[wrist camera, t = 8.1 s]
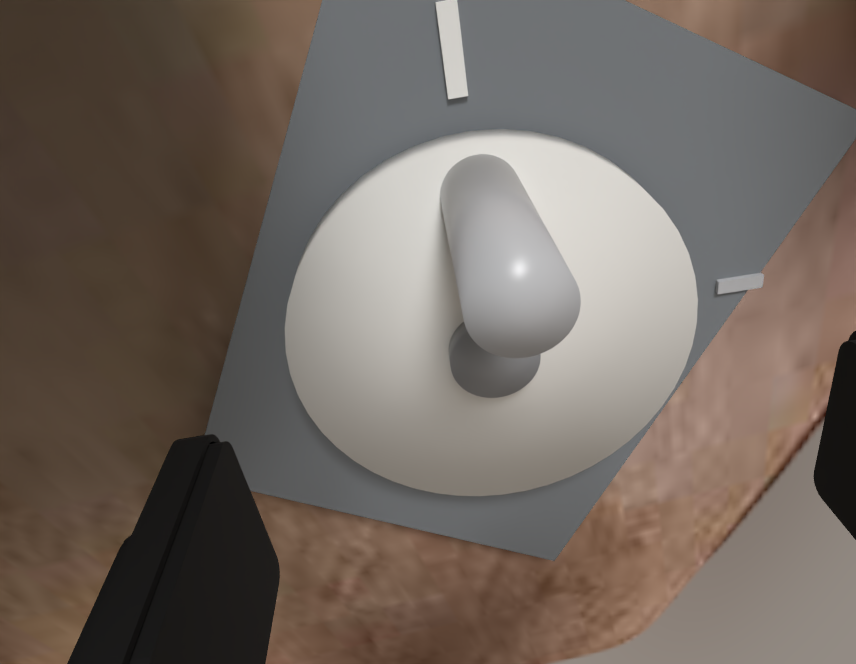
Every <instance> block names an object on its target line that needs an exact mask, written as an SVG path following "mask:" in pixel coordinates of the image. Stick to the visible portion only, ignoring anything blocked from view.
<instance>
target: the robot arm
mask: <svg viewBox="0 0 856 664" xmlns="http://www.w3.org/2000/svg"><path fill="white" fill-rule="evenodd" d="M814 483H815V486H816V489H817V491H818V493H819V495H820V496H821V498H822V499H823V501H824V502H825V503H826V504H827V506H828V507H829V508H830V509H831V510H832V512H833V513H834V514H835V515H836V516H837V518H838V519H839V520H840V521H841V522H842V524H843V525H844V526H845V527H846V529H847V530H848V531H849V532H850V533H851V535H852V536H853V537H854V538H855V540H856V331H854V332H853V333H852V334H851V336H850V337H849V340H848V341H846V342H844V343H843V344H842V345H841V346H840V349H839V352H838V357H837V362H836V367H835V372H834V377H833V382H832V387H831V391H830V396H829V401H828V406H827V411H826V416H825V421H824V426H823V431H822V436H821V440H820V445H819V450H818V456H817V460H816V465H815V470H814ZM279 578H280V571H279V563H278V559H277V556H276V553H275V551H274V548H273V546H272V543H271V541H270V538H269V536H268V533H267V531H266V529H265V526H264V524H263V521H262V519H261V516H260V514H259V511H258V509H257V506H256V504H255V501H254V499H253V496H252V494H251V491H250V489H249V486H248V484H247V481H246V479H245V476H244V474H243V471H242V469H241V467H240V464H239V462H238V459H237V457H236V454H235V452H234V449H233V447H232V445H231V444H230V443H229V442H227V441H225V442H220V440H219V439H218V437H217V436H216V435H213V434H209V435H203V436H197V437H190V438H184V439H178V440H176V441H174V443H173V444H172V446H171V448H170V450H169V452H168V454H167V457H166V459H165V461H164V463H163V466H162V468H161V470H160V472H159V475H158V477H157V479H156V481H155V484H154V486H153V488H152V490H151V493H150V495H149V497H148V499H147V502H146V504H145V506H144V508H143V511H142V513H141V515H140V517H139V520H138V522H137V524H136V526H135V529H134V531H133V533H132V535H131V536H129V537H128V538H127V539H126V540H125V541H124V543H123V544H122V546H121V547H120V549H119V551H118V553H117V556H116V558H115V560H114V562H113V564H112V567H111V569H110V571H109V573H108V575H107V578H106V580H105V582H104V584H103V586H102V589H101V591H100V593H99V595H98V597H97V600H96V602H95V604H94V606H93V608H92V611H91V613H90V615H89V617H88V619H87V622H86V624H85V626H84V628H83V630H82V633H81V635H80V637H79V639H78V641H77V644H76V646H75V648H74V650H73V652H72V655H71V657H70V659H69V661H68V663H67V664H265V662H266V656H267V650H268V644H269V639H270V633H271V627H272V621H273V615H274V609H275V604H276V598H277V592H278V586H279Z"/></svg>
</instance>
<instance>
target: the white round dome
mask: <svg viewBox="0 0 856 664" xmlns="http://www.w3.org/2000/svg"><path fill="white" fill-rule="evenodd" d="M697 309H698V296H697V287H696V278H695V273H694V270H693V266H692V263H691V259H690V255H689V252H688V250H687V248H686V246H685V244H684V242H683V240H682V237H681V235H680V233H679V231H678V229H677V228H676V227H675V225H674V224H673V222H672V221H671V219H670V218H669V216H668V215H667V213H666V212H665V211H664V209H663V208H662V207H661V206H660V205H659V204H658V203H657V202H656V201H655V200H654V199H653V198H652V197H651V196H650V195H649V194H648V193H647V192H646V191H645V190H644V189H643V188H642V187H641V186H640V185H639V184H638V183H637V182H636V181H635V180H634V179H633V178H632V177H631V176H630V175H629V174H627V173H626V172H625V171H623V170H622V169H621V168H619V167H618V166H617V165H615V164H614V163H613V162H611V161H610V160H609V159H607V158H605V157H603V156H601V155H600V154H598V153H596V152H594V151H592V150H590V149H588V148H587V147H585V146H582V145H579V144H576V143H574V142H571V141H568V140H566V139H563V138H560V137H556V136H552V135H547V134H542V133H537V132H533V131H523V130H509V129H492V130H477V131H468V132H463V133H458V134H453V135H448V136H443V137H439V138H436V139H433V140H431V141H428V142H425V143H422V144H419V145H416V146H413V147H411V148H409V149H407V150H405V151H403V152H401V153H399V154H397V155H395V156H393V157H391V158H389V159H387V160H385V161H384V162H382V163H381V164H379V165H378V166H376V167H375V168H373V169H372V170H370V171H369V172H367V173H366V174H364V175H363V176H362V177H361V178H359V179H358V180H357V181H356V182H355V183H354V184H353V185H352V186H350V187H349V188H348V189H347V190H346V191H345V192H344V193H343V194H341V196H340V197H339V198H338V199H337V200H336V202H335V203H334V204H333V205H332V206H331V207H330V209H329V210H328V211H327V212H326V213H325V214H324V216H323V217H322V219H321V221H320V222H319V224H318V225H317V227H316V229H315V230H314V232H313V233H312V235H311V236H310V238H309V241H308V243H307V245H306V247H305V250H304V252H303V254H302V256H301V259H300V261H299V265H298V268H297V272H296V275H295V279H294V282H293V286H292V289H291V293H290V297H289V300H288V304H287V312H286V321H285V348H286V356H287V361H288V366H289V371H290V375H291V378H292V381H293V383H294V386H295V389H296V391H297V394H298V396H299V398H300V400H301V402H302V404H303V405H304V407H305V409H306V411H307V413H308V414H309V416H310V417H311V419H312V420H313V421H314V423H315V424H316V425H317V427H318V428H319V429H320V431H321V432H322V433H323V434H324V435H325V436H326V437H327V438H328V439H329V440H330V441H331V442H332V443H333V444H334V445H335V446H336V447H337V448H338V449H339V450H341V451H342V452H343V453H345V454H346V455H347V456H348V457H350V458H351V459H352V460H353V461H355V462H357V463H358V464H360V465H362V466H363V467H365V468H367V469H368V470H370V471H372V472H373V473H376V474H378V475H380V476H382V477H384V478H387V479H389V480H391V481H393V482H396V483H399V484H402V485H405V486H408V487H411V488H415V489H419V490H424V491H428V492H433V493H439V494H447V495H456V496H491V495H504V494H510V493H516V492H522V491H527V490H531V489H534V488H538V487H542V486H546V485H549V484H552V483H555V482H557V481H560V480H563V479H565V478H568V477H571V476H573V475H575V474H577V473H579V472H581V471H583V470H585V469H587V468H589V467H591V466H593V465H595V464H596V463H598V462H600V461H601V460H603V459H605V458H606V457H608V456H609V455H611V454H612V453H614V452H615V451H616V450H618V449H619V448H620V447H622V446H623V445H624V444H626V443H627V442H628V441H630V440H631V439H632V438H633V437H634V436H635V435H636V434H637V433H638V432H639V431H640V430H641V429H642V428H644V427H645V426H646V425H647V424H648V422H649V421H650V420H651V419H652V418H653V417H654V415H655V414H656V413H657V412H658V411H659V410H660V408H661V407H662V406H663V404H664V403H665V401H666V400H667V398H668V397H669V395H670V394H671V392H672V391H673V389H674V388H675V386H676V384H677V382H678V380H679V378H680V376H681V374H682V372H683V370H684V368H685V365H686V363H687V360H688V357H689V354H690V351H691V348H692V345H693V340H694V335H695V330H696V325H697Z"/></svg>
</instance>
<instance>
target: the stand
mask: <svg viewBox="0 0 856 664" xmlns="http://www.w3.org/2000/svg"><path fill="white" fill-rule="evenodd" d="M492 129H509V130H523V131H533V132H537V133H542V134H547V135H552V136H556V137H560V138H563V139H566V140H568V141H571V142H574V143H576V144H579V145H582V146H585V147H587V148H588V149H590V150H592V151H594V152H596V153H598V154H600V155H601V156H603V157H605V158H607V159H609V160H610V161H611V162H613V163H614V164H615V165H617V166H618V167H619V168H621V169H622V170H623V171H625V172H626V173H627V174H629V175H630V176H631V177H632V178H633V179H634V180H635V181H636V182H637V183H638V184H639V185H640V186H641V187H642V188H643V189H644V190H645V191H646V192H647V193H648V194H649V195H650V196H651V197H652V198H653V199H654V200H655V201H656V202H657V203H658V204H659V205H660V206H661V207H662V208H663V209H664V211H665V212H666V213H667V215H668V216H669V218H670V219H671V221H672V222H673V224H674V225H675V227H676V228H677V229H678V231H679V233H680V235H681V237H682V240H683V242H684V244H685V246H686V248H687V250H688V252H689V255H690V259H691V263H692V266H693V270H694V273H695V278H696V287H697V296H698V309H697V325H696V330H695V335H694V340H693V345H692V348H691V351H690V354H689V357H688V360H687V363H686V365H685V368H684V370H683V372H682V374H681V376H680V378H679V380H678V382H677V384H676V386H675V388H674V389H673V391H672V392H671V394H670V395H669V397H668V398H667V400H666V401H665V403H664V404H663V406H662V407H661V408H660V410H659V411H658V412H657V413H656V414H655V415H654V417H653V418H652V419H651V420H650V421H649V422H648V424H647V425H646V426H645V427H644V428H642V429H641V430H640V431H639V432H638V433H637V434H636V435H635V436H634V437H633V438H632V439H631V440H630V441H628V442H627V443H626V444H624V445H623V446H622V447H620V448H619V449H618V450H616V451H615V452H614V453H612V454H611V455H609V456H608V457H606V458H605V459H603V460H601V461H600V462H598V463H596V464H595V465H593V466H591V467H589V468H587V469H585V470H583V471H581V472H579V473H577V474H575V475H573V476H571V477H568V478H565V479H563V480H560V481H557V482H555V483H552V484H549V485H546V486H542V487H538V488H534V489H531V490H527V491H522V492H516V493H510V494H504V495H491V496H456V495H447V494H439V493H433V492H428V491H424V490H419V489H415V488H411V487H408V486H405V485H402V484H399V483H396V482H393V481H391V480H389V479H387V478H384V477H382V476H380V475H378V474H376V473H373V472H372V471H370V470H368V469H367V468H365V467H363V466H362V465H360V464H358V463H357V462H355V461H353V460H352V459H351V458H350V457H348V456H347V455H346V454H345V453H343V452H342V451H341V450H339V449H338V448H337V447H336V446H335V445H334V444H333V443H332V442H331V441H330V440H329V439H328V438H327V437H326V436H325V435H324V434H323V433H322V432H321V431H320V429H319V428H318V427H317V425H316V424H315V423H314V421H313V420H312V419H311V417H310V416H309V414H308V413H307V411H306V409H305V407H304V405H303V404H302V402H301V400H300V398H299V396H298V394H297V391H296V389H295V386H294V383H293V381H292V378H291V375H290V371H289V366H288V361H287V356H286V348H285V321H286V312H287V304H288V300H289V297H290V293H291V289H292V286H293V282H294V279H295V275H296V272H297V268H298V265H299V261H300V259H301V256H302V254H303V252H304V250H305V247H306V245H307V243H308V241H309V238H310V236H311V235H312V233H313V232H314V230H315V229H316V227H317V225H318V224H319V222H320V221H321V219H322V217H323V216H324V214H325V213H326V212H327V211H328V210H329V209H330V207H331V206H332V205H333V204H334V203H335V202H336V200H337V199H338V198H339V197H340V196H341V194H343V193H344V192H345V191H346V190H347V189H348V188H349V187H350V186H352V185H353V184H354V183H355V182H356V181H357V180H358V179H359V178H361V177H362V176H363V175H364V174H366V173H367V172H369V171H370V170H372V169H373V168H375V167H376V166H378V165H379V164H381V163H382V162H384V161H385V160H387V159H389V158H391V157H393V156H395V155H397V154H399V153H401V152H403V151H405V150H407V149H409V148H411V147H413V146H416V145H419V144H422V143H425V142H428V141H431V140H433V139H436V138H439V137H443V136H448V135H453V134H458V133H463V132H468V131H477V130H492ZM855 139H856V109H854V108H852V107H850V106H848V105H846V104H844V103H842V102H840V101H837V100H835V99H833V98H831V97H829V96H827V95H825V94H823V93H820V92H818V91H816V90H814V89H812V88H810V87H808V86H806V85H803V84H801V83H799V82H797V81H795V80H793V79H791V78H789V77H786V76H784V75H782V74H780V73H778V72H776V71H774V70H772V69H769V68H767V67H765V66H763V65H761V64H759V63H757V62H755V61H752V60H750V59H748V58H746V57H744V56H742V55H740V54H738V53H735V52H733V51H731V50H729V49H727V48H725V47H723V46H721V45H718V44H716V43H714V42H712V41H710V40H708V39H706V38H704V37H701V36H699V35H697V34H695V33H693V32H691V31H689V30H687V29H684V28H682V27H680V26H678V25H676V24H674V23H672V22H670V21H667V20H665V19H663V18H661V17H659V16H657V15H655V14H653V13H650V12H648V11H646V10H644V9H642V8H640V7H638V6H636V5H633V4H631V3H629V2H627V1H625V0H322V4H321V8H320V11H319V15H318V19H317V22H316V26H315V30H314V33H313V37H312V41H311V45H310V48H309V52H308V56H307V59H306V63H305V67H304V70H303V74H302V78H301V81H300V85H299V89H298V93H297V96H296V100H295V104H294V107H293V111H292V115H291V118H290V122H289V126H288V130H287V133H286V137H285V141H284V144H283V148H282V152H281V155H280V159H279V163H278V166H277V170H276V174H275V178H274V181H273V185H272V189H271V192H270V196H269V200H268V203H267V207H266V211H265V214H264V218H263V222H262V226H261V229H260V233H259V237H258V240H257V244H256V248H255V251H254V255H253V259H252V263H251V266H250V270H249V274H248V277H247V281H246V285H245V288H244V292H243V296H242V299H241V303H240V307H239V311H238V314H237V318H236V322H235V325H234V329H233V333H232V336H231V340H230V344H229V347H228V351H227V355H226V359H225V362H224V366H223V370H222V373H221V377H220V381H219V384H218V388H217V392H216V396H215V399H214V403H213V407H212V410H211V414H210V418H209V421H208V425H207V429H206V432H205V435H209V434H213V435H216V436H217V437H218V439H219V440H220V442H225V441H227V442H229V443H230V444H231V445H232V447H233V449H234V452H235V454H236V457H237V459H238V462H239V464H240V467H241V469H242V471H243V474H244V476H245V479H246V481H247V484H248V486H249V489H250V491H253V492H257V493H262V494H266V495H270V496H275V497H279V498H283V499H288V500H292V501H296V502H301V503H305V504H310V505H314V506H318V507H323V508H327V509H331V510H336V511H340V512H344V513H349V514H353V515H357V516H362V517H366V518H370V519H375V520H379V521H383V522H388V523H392V524H396V525H401V526H405V527H409V528H414V529H418V530H422V531H427V532H431V533H435V534H440V535H444V536H448V537H453V538H457V539H461V540H466V541H470V542H475V543H479V544H483V545H488V546H492V547H496V548H501V549H505V550H509V551H514V552H518V553H522V554H527V555H531V556H535V557H540V558H544V559H548V560H553V561H555V559H556V558H557V557H558V555H559V554H560V552H561V551H562V550H563V548H564V547H565V545H566V544H567V543H568V541H569V540H570V538H571V537H572V536H573V534H574V533H575V531H576V530H577V529H578V527H579V526H580V524H581V523H582V522H583V520H584V519H585V517H586V516H587V515H588V513H589V512H590V510H591V509H592V508H593V506H594V505H595V503H596V502H597V501H598V499H599V498H600V496H601V495H602V494H603V492H604V491H605V489H606V488H607V486H608V485H609V484H610V482H611V481H612V479H613V478H614V477H615V475H616V474H617V472H618V471H619V470H620V468H621V467H622V465H623V464H624V463H625V461H626V460H627V458H628V457H629V456H630V454H631V453H632V451H633V450H634V449H635V447H636V446H637V444H638V443H639V442H640V440H641V439H642V437H643V436H644V435H645V433H646V432H647V430H648V429H649V428H650V426H651V425H652V423H653V422H654V421H655V419H656V418H657V416H658V415H659V414H660V412H661V411H662V409H663V408H664V407H665V405H666V404H667V402H668V401H669V400H670V398H671V397H672V395H673V394H674V393H675V391H676V390H677V388H678V387H679V386H680V384H681V383H682V381H683V380H684V379H685V377H686V376H687V374H688V373H689V372H690V370H691V369H692V367H693V366H694V365H695V363H696V362H697V360H698V359H699V358H700V356H701V355H702V353H703V352H704V351H705V349H706V348H707V346H708V345H709V344H710V342H711V341H712V339H713V338H714V337H715V335H716V334H717V332H718V331H719V330H720V328H721V327H722V325H723V324H724V323H725V321H726V320H727V318H728V317H729V316H730V314H731V313H732V311H733V310H734V309H735V307H736V306H737V304H738V303H739V302H740V300H741V299H742V297H743V296H744V295H745V293H746V292H747V290H749V289H755V288H762V286H763V279H764V275H763V274H762V273H760V272H761V271H762V269H763V268H764V267H765V265H766V264H767V262H768V261H769V260H770V258H771V257H772V255H773V254H774V253H775V251H776V250H777V248H778V247H779V246H780V244H781V243H782V241H783V240H784V239H785V237H786V236H787V234H788V233H789V232H790V230H791V229H792V227H793V226H794V225H795V223H796V222H797V220H798V219H799V218H800V216H801V215H802V213H803V212H804V211H805V209H806V208H807V206H808V205H809V204H810V202H811V201H812V199H813V198H814V196H815V195H816V194H817V192H818V191H819V189H820V188H821V187H822V185H823V184H824V182H825V181H826V180H827V178H828V177H829V175H830V174H831V173H832V171H833V170H834V168H835V167H836V166H837V164H838V163H839V161H840V160H841V159H842V157H843V156H844V154H845V153H846V152H847V150H848V149H849V147H850V146H851V145H852V143H853V142H854V140H855Z"/></svg>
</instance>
